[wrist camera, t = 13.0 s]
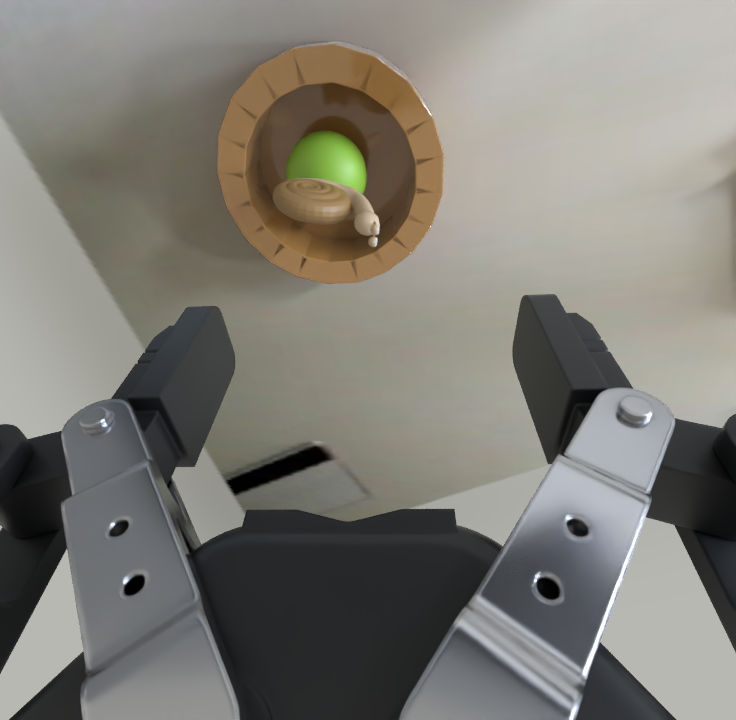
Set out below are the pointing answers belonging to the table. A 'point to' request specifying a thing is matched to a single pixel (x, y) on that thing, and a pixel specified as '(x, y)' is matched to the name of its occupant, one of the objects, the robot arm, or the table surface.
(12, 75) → the table surface
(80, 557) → the robot arm
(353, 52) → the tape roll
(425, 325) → the table surface
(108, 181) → the table surface
